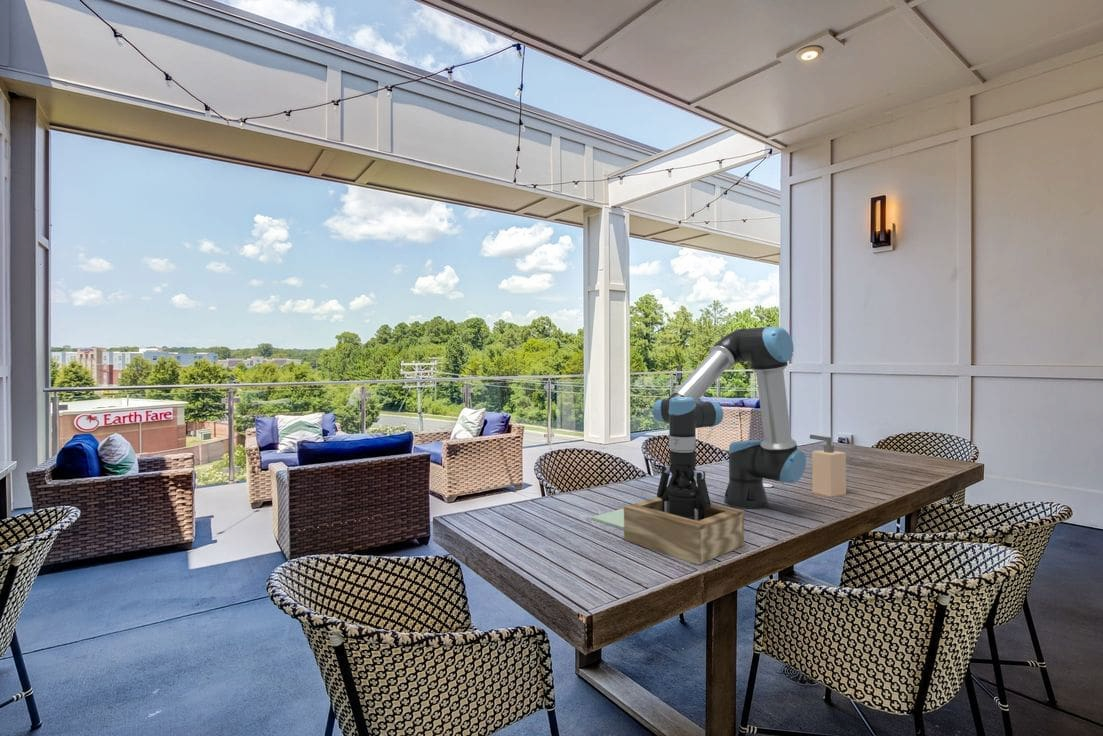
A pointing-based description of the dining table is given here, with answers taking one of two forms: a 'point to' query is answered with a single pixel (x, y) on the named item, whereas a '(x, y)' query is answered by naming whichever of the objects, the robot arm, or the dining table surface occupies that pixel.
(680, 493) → the black shaker bottle
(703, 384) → the robot arm
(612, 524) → the board
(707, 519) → the crate
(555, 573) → the dining table surface
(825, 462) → the soap dispenser
